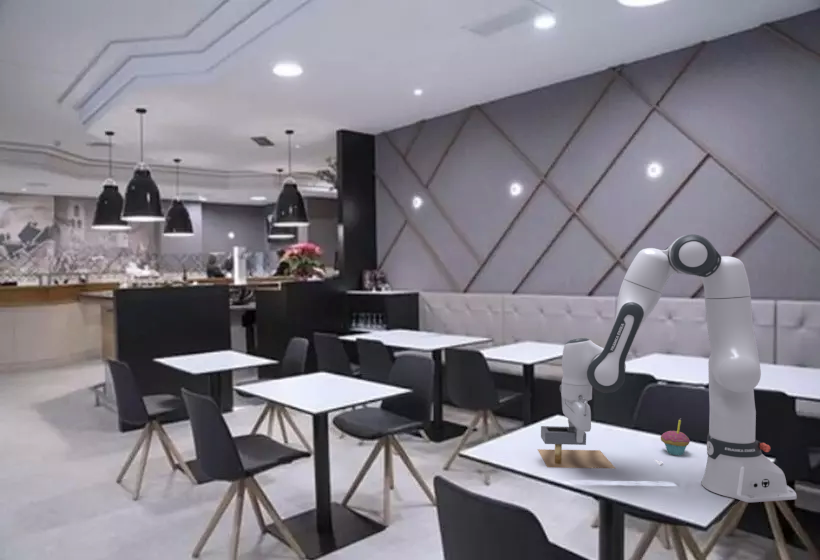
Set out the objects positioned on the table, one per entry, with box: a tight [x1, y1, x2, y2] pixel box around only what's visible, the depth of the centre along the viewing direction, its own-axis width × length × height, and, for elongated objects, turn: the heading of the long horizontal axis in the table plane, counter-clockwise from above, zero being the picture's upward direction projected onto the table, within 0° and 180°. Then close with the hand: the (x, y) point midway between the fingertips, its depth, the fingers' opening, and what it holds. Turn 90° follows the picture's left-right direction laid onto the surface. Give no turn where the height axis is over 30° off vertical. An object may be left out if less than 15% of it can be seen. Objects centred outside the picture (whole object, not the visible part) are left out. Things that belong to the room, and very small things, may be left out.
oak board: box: [537, 448, 617, 469], centre depth 177 cm, size 20×16×2 cm
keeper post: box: [554, 444, 563, 464], centre depth 173 cm, size 2×2×8 cm
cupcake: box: [660, 418, 691, 456], centre depth 186 cm, size 9×8×12 cm
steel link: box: [540, 425, 587, 446], centre depth 173 cm, size 12×7×3 cm, turn 88°
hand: (575, 437), depth 173 cm, fingers closed on steel link, 7 cm apart
